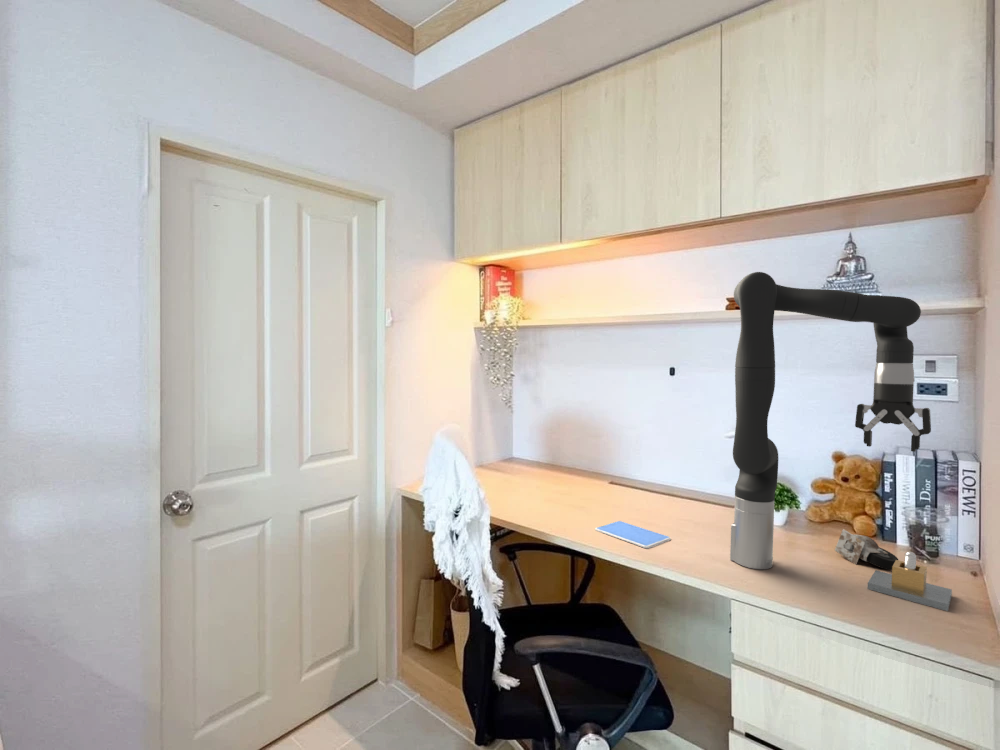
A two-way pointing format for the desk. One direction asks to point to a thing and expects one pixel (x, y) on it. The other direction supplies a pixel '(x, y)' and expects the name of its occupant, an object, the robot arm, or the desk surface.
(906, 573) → the tan slotted block
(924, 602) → the post block
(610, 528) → the tablet computer
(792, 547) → the desk surface
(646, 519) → the desk surface
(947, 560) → the desk surface
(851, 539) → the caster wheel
